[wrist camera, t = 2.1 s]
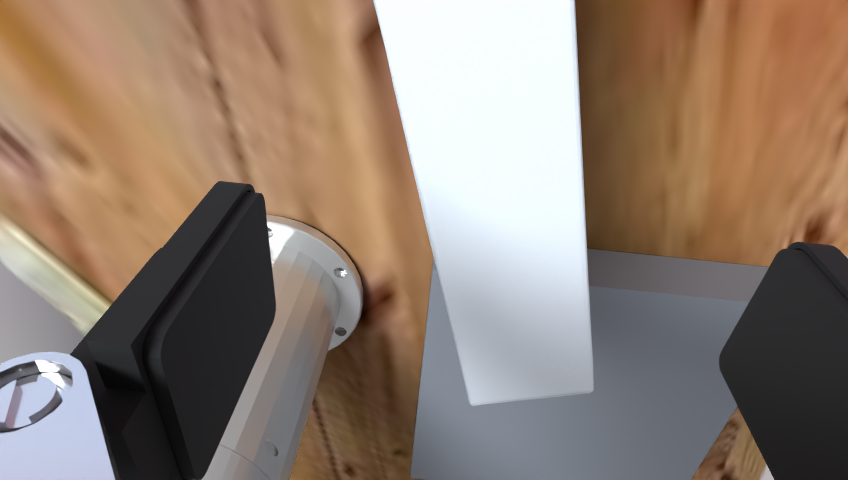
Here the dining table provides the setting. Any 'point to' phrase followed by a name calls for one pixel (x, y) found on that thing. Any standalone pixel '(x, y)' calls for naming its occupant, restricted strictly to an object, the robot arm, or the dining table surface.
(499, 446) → the podium
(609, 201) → the dining table surface
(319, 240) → the robot arm
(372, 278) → the dining table surface
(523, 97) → the skincare box
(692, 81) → the dining table surface
